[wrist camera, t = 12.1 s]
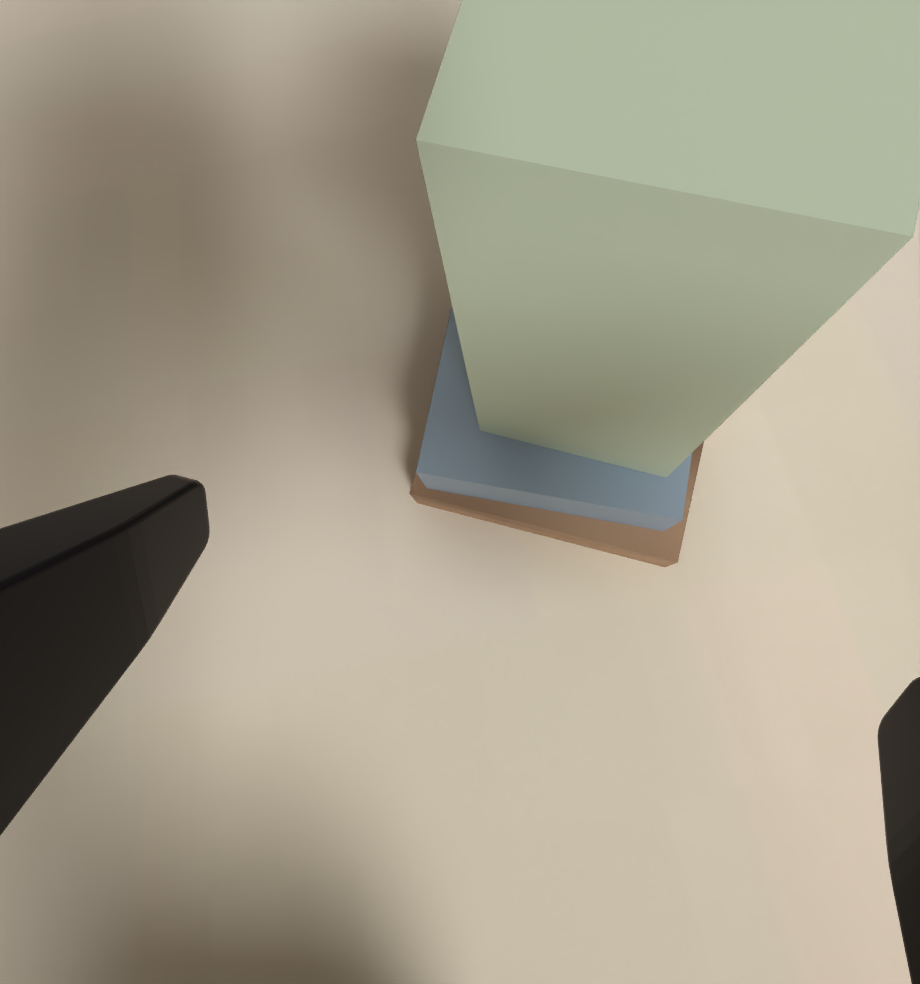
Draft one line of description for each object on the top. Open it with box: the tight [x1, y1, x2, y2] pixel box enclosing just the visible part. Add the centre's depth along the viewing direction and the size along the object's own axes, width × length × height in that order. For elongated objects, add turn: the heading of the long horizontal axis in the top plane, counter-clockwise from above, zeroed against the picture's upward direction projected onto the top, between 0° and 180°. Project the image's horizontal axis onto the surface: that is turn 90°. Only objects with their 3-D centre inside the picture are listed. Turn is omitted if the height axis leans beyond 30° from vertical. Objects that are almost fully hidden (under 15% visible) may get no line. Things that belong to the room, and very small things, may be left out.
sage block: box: [416, 0, 920, 478], centre depth 12 cm, size 5×5×11 cm
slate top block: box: [416, 307, 692, 531], centre depth 19 cm, size 7×7×2 cm
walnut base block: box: [410, 441, 704, 567], centre depth 21 cm, size 8×8×2 cm
